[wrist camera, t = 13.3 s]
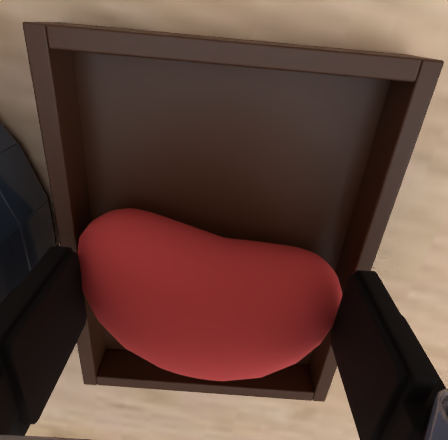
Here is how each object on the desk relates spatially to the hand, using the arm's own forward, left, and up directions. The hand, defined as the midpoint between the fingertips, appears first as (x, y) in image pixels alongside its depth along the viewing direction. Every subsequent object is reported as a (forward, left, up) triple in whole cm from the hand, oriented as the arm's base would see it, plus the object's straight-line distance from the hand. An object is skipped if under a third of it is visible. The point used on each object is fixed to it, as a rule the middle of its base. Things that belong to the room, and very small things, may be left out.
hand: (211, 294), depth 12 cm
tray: (0, 0, -4) cm, 4 cm away
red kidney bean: (0, -1, -3) cm, 3 cm away
